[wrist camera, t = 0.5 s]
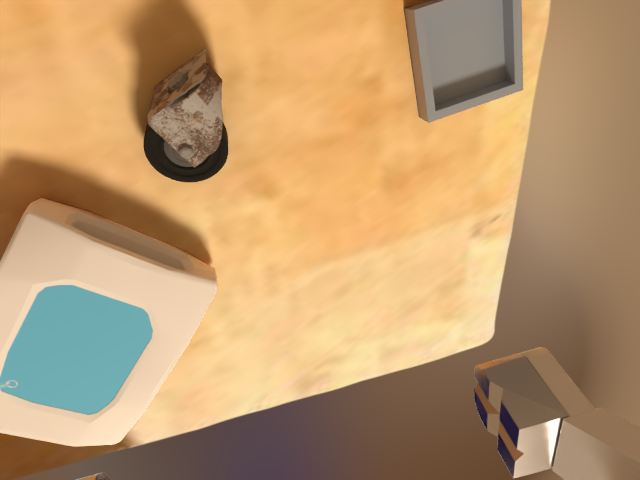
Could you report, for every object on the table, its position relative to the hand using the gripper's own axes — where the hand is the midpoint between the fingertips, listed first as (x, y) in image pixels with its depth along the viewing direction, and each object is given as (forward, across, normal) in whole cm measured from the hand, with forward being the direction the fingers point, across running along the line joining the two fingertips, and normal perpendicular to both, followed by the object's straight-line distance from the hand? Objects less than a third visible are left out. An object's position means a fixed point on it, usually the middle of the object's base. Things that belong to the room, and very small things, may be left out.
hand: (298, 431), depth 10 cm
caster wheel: (+44, +6, +8) cm, 45 cm away
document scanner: (+41, +26, +28) cm, 56 cm away
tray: (+46, -25, +8) cm, 53 cm away
